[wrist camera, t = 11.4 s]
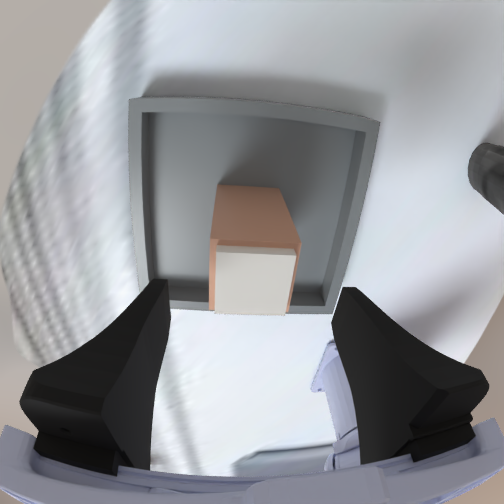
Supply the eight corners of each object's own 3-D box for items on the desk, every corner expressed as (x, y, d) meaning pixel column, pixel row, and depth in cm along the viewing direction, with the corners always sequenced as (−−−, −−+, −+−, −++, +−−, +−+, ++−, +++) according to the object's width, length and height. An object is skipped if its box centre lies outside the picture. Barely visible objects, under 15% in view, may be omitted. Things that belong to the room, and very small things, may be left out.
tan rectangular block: (279, 188, 20) (304, 250, 13) (272, 242, 22) (289, 320, 15) (217, 184, 20) (208, 245, 13) (214, 239, 22) (208, 317, 15)
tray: (364, 117, 19) (380, 122, 16) (324, 294, 26) (332, 313, 24) (141, 97, 17) (128, 99, 15) (148, 286, 25) (141, 306, 22)
